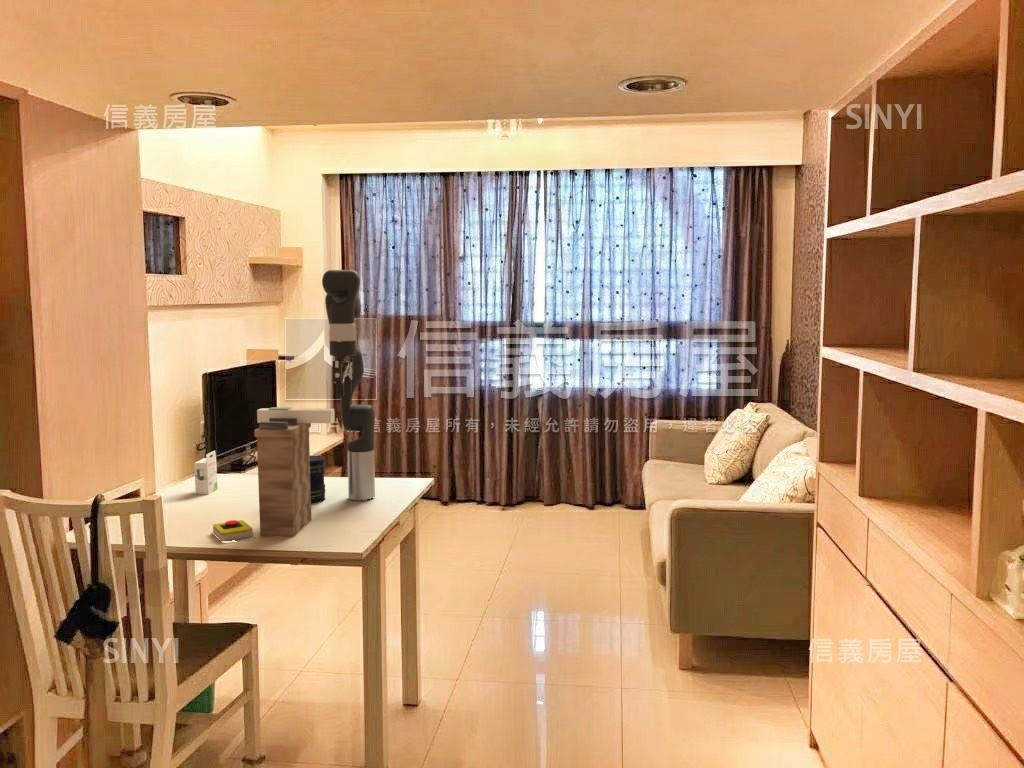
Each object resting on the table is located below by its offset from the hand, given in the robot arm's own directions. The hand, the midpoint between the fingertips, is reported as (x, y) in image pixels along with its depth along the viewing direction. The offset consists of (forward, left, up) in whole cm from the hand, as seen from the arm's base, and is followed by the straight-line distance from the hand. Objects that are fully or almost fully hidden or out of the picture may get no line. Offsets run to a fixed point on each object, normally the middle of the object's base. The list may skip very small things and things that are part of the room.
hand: (343, 394), depth 230 cm
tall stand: (-7, -20, -42) cm, 47 cm away
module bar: (-13, -19, -10) cm, 25 cm away
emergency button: (+1, -34, -43) cm, 55 cm away
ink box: (-52, -65, -42) cm, 93 cm away
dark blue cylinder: (-41, -23, -42) cm, 63 cm away
